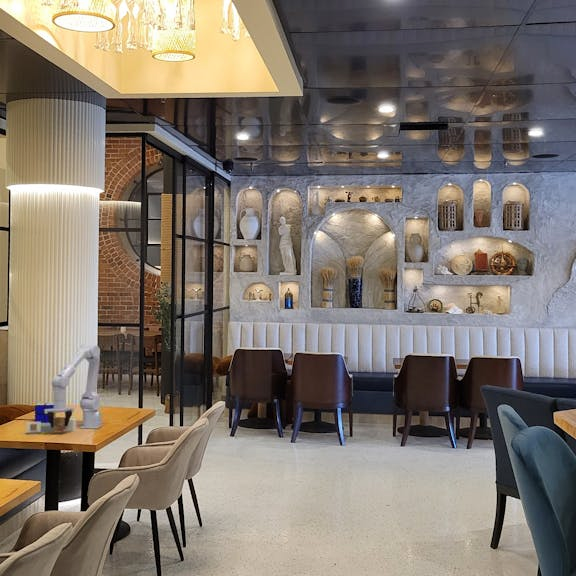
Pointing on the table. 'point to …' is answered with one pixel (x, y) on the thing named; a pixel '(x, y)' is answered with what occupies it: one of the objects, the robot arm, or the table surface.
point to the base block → (46, 427)
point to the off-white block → (71, 425)
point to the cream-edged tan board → (33, 427)
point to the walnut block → (59, 423)
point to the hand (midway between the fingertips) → (59, 426)
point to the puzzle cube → (40, 414)
